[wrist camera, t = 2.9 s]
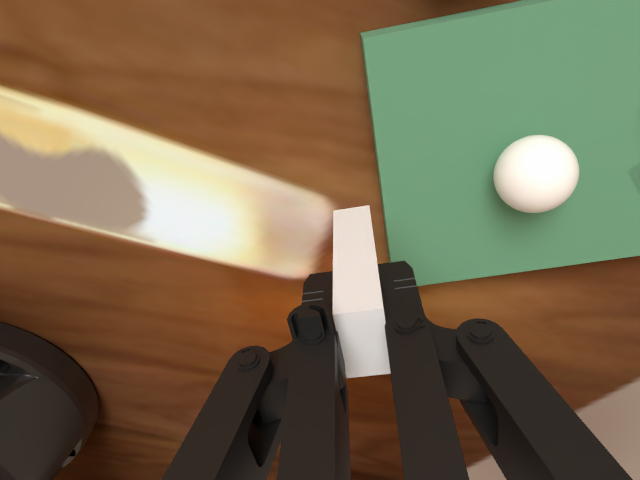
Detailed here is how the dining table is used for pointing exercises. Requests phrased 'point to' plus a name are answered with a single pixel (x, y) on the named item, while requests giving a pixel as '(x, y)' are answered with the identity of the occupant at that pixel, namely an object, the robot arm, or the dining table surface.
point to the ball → (536, 173)
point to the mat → (506, 134)
